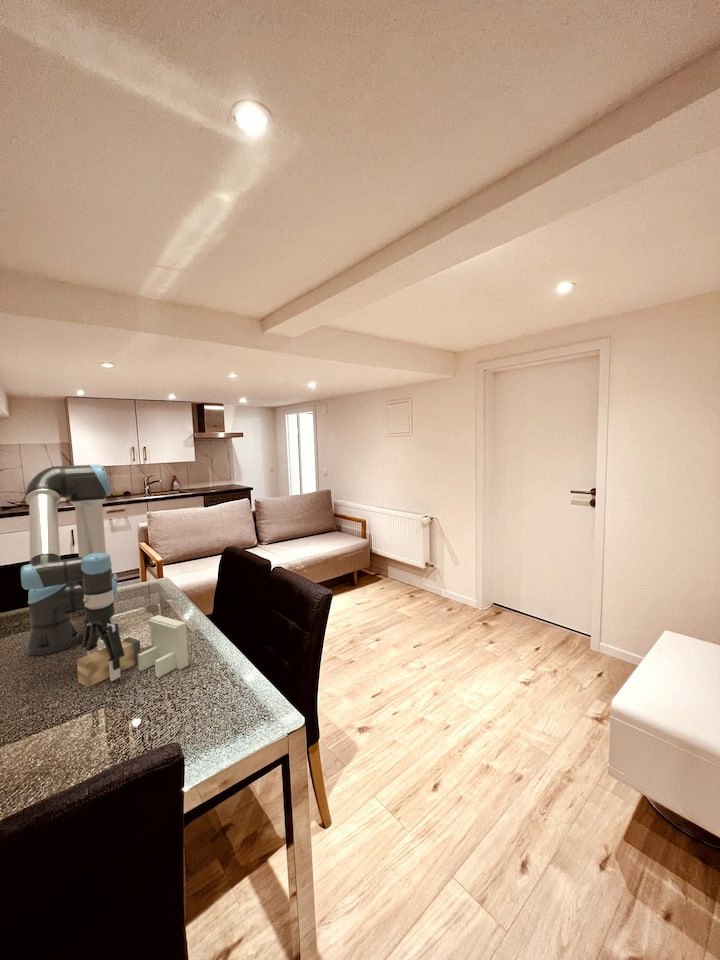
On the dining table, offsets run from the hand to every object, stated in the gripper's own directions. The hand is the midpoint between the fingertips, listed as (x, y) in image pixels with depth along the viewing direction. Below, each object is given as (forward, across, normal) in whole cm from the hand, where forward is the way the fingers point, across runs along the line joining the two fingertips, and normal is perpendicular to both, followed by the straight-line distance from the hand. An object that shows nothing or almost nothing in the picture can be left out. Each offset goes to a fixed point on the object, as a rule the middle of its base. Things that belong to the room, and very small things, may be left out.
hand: (104, 674), depth 124 cm
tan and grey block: (0, 0, +2) cm, 2 cm away
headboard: (0, +12, +11) cm, 16 cm away
